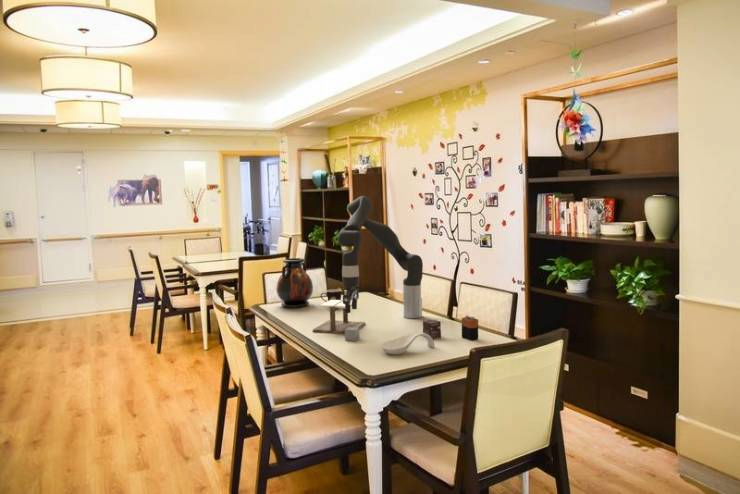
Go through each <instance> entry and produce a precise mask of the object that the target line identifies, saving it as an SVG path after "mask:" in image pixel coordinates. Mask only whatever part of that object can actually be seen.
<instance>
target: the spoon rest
mask: <svg viewBox="0 0 740 494" xmlns="http://www.w3.org/2000/svg"><path fill="white" fill-rule="evenodd" d="M424 336H425V337H424ZM418 337H424V338H426V340H427V346H428V347H429V348H432V349H435V341H434V340H433V339H432V338H431V337H430V336H429V335H427V334H425V333H423V331H414V332H411V333H408V334H406V335H404V336H400V337H397V338H393V339H391V340H387V341H384V342H382V343H381V344H380V349H382V351H384V352H385V353H387V355H388V354H389V355H395V356H396V355H397V356H398V355H403V354H404V353H405V352H406V351H407V350H408V349H409V347H410V346H411V345H412V343H413V342H414V341H415V339H417V338H418Z"/></svg>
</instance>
